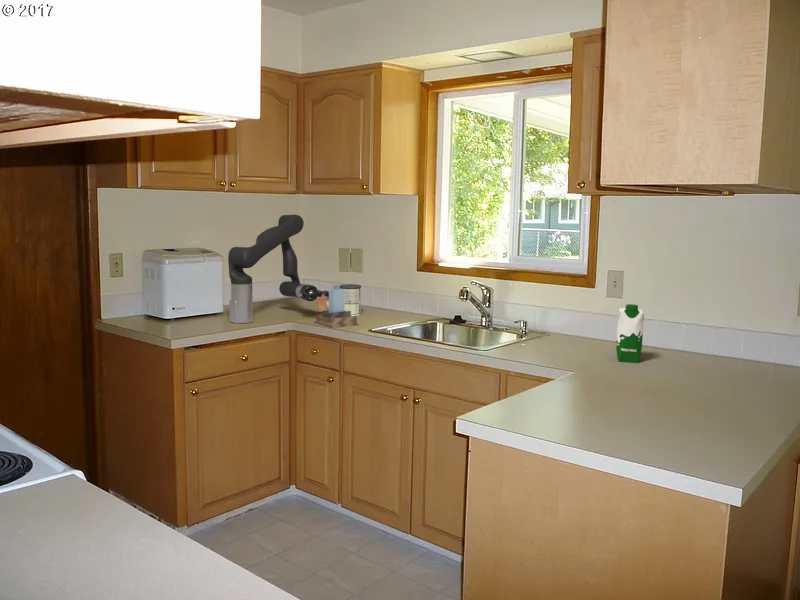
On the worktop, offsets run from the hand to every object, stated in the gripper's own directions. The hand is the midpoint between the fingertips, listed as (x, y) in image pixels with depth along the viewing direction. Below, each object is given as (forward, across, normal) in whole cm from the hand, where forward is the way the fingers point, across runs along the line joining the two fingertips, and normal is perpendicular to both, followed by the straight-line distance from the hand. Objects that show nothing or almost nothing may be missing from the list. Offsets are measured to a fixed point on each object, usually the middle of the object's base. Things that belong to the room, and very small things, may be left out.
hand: (324, 296), depth 314 cm
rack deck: (+10, 0, +11) cm, 15 cm away
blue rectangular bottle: (+10, 0, +8) cm, 13 cm away
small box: (-21, +14, +11) cm, 28 cm away
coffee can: (-8, +19, +11) cm, 24 cm away
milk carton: (+126, +50, +11) cm, 136 cm away
